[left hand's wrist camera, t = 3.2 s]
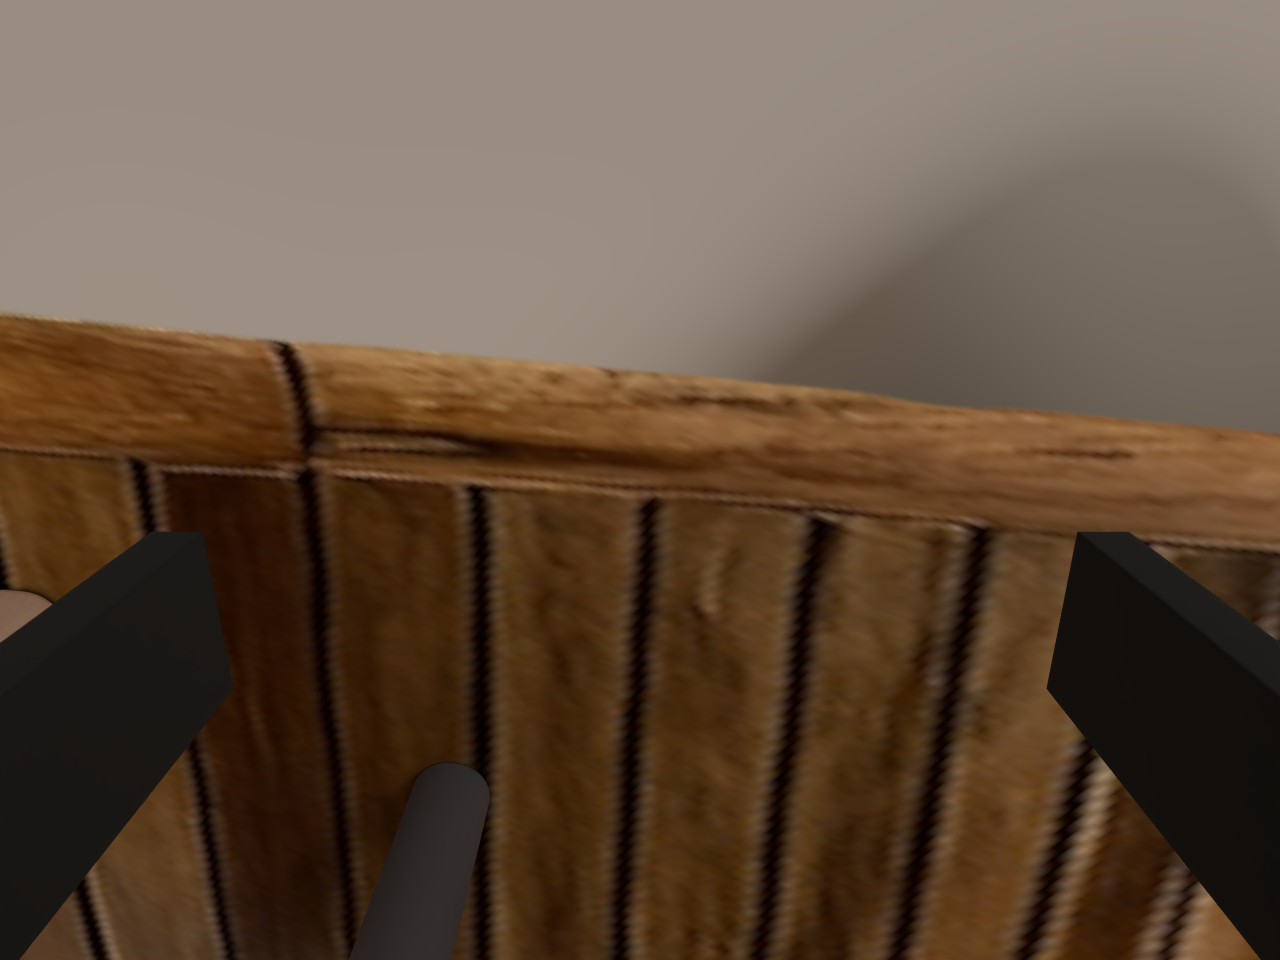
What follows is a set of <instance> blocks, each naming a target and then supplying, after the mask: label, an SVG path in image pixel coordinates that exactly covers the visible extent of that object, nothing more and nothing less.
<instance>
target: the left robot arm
mask: <svg viewBox="0 0 1280 960" xmlns="http://www.w3.org/2000/svg"><path fill="white" fill-rule="evenodd" d="M232 690H233V684H232V679H231V674H230V669H229V664H228V659H227V653H226V648H225V643H224V638H223V633H222V628H221V623H220V618H219V613H218V608H217V603H216V598H215V593H214V588H213V582H212V577H211V572H210V567H209V562H208V557H207V552H206V547H205V542H204V537H203V532H151V533H149V534H148V535H147V536H145V537H144V538H142V539H141V540H140V541H138V542H137V543H136V544H134V545H133V546H132V547H130V548H129V549H127V550H126V551H125V552H123V553H122V554H121V555H119V556H118V557H116V558H115V559H114V560H112V561H111V562H110V563H108V564H107V565H106V566H104V567H103V568H101V569H100V570H99V571H97V572H96V573H95V574H93V575H92V576H91V577H89V578H88V579H86V580H85V581H84V582H82V583H81V584H80V585H78V586H77V587H75V588H74V589H73V590H71V591H70V592H69V593H67V594H66V595H65V596H63V597H62V598H60V599H59V600H58V601H56V602H55V603H54V604H52V605H51V606H50V607H48V608H47V609H45V610H44V611H43V612H41V613H40V614H39V615H37V616H36V617H34V618H33V619H32V620H30V621H29V622H28V623H26V624H25V625H24V626H22V627H21V628H19V629H18V630H17V631H15V632H14V633H13V634H11V635H10V636H9V637H7V638H6V639H4V640H3V641H2V642H0V960H19V959H20V958H21V957H22V955H23V954H24V953H25V952H26V950H27V949H28V948H29V946H30V945H31V944H32V943H33V941H34V940H35V939H36V938H37V936H38V935H39V934H40V933H41V931H42V930H43V929H44V927H45V926H46V925H47V924H48V922H49V921H50V920H51V919H52V917H53V916H54V915H55V914H56V912H57V911H58V910H59V909H60V907H61V906H62V905H63V903H64V902H65V901H66V900H67V898H68V897H69V896H70V895H71V893H72V892H73V891H74V890H75V888H76V887H77V886H78V884H79V883H80V882H81V881H82V879H83V878H84V877H85V876H86V874H87V873H88V872H89V871H90V869H91V868H92V867H93V866H94V864H95V863H96V862H97V860H98V859H99V858H100V857H101V855H102V854H103V853H104V852H105V850H106V849H107V848H108V847H109V845H110V844H111V843H112V842H113V840H114V839H115V838H116V836H117V835H118V834H119V833H120V831H121V830H122V829H123V828H124V826H125V825H126V824H127V823H128V821H129V820H130V819H131V817H132V816H133V815H134V814H135V812H136V811H137V810H138V809H139V807H140V806H141V805H142V804H143V802H144V801H145V800H146V799H147V797H148V796H149V795H150V793H151V792H152V791H153V790H154V788H155V787H156V786H157V785H158V783H159V782H160V781H161V780H162V778H163V777H164V776H165V774H166V773H167V772H168V771H169V769H170V768H171V767H172V766H173V764H174V763H175V762H176V761H177V759H178V758H179V757H180V756H181V754H182V753H183V752H184V750H185V749H186V748H187V747H188V745H189V744H190V743H191V742H192V740H193V739H194V738H195V737H196V735H197V734H198V733H199V731H200V730H201V729H202V728H203V726H204V725H205V724H206V723H207V721H208V720H209V719H210V718H211V716H212V715H213V714H214V713H215V711H216V710H217V709H218V707H219V706H220V705H221V704H222V702H223V701H224V700H225V699H226V697H227V696H228V695H229V694H230V692H231V691H232ZM1047 690H1048V691H1049V692H1050V694H1051V695H1052V696H1053V697H1054V699H1055V700H1056V701H1057V702H1058V704H1059V705H1060V706H1061V707H1062V709H1063V710H1064V711H1065V713H1066V714H1067V715H1068V716H1069V718H1070V719H1071V720H1072V721H1073V723H1074V724H1075V725H1076V726H1077V728H1078V729H1079V730H1080V731H1081V733H1082V734H1083V735H1084V737H1085V738H1086V739H1087V740H1088V742H1089V743H1090V744H1091V745H1092V747H1093V748H1094V749H1095V750H1096V752H1097V753H1098V754H1099V756H1100V757H1101V758H1102V759H1103V761H1104V762H1105V763H1106V764H1107V766H1108V767H1109V768H1110V769H1111V771H1112V772H1113V773H1114V774H1115V776H1116V777H1117V778H1118V780H1119V781H1120V782H1121V783H1122V785H1123V786H1124V787H1125V788H1126V790H1127V791H1128V792H1129V793H1130V795H1131V796H1132V797H1133V799H1134V800H1135V801H1136V802H1137V804H1138V805H1139V806H1140V807H1141V809H1142V810H1143V811H1144V812H1145V814H1146V815H1147V816H1148V817H1149V819H1150V820H1151V821H1152V823H1153V824H1154V825H1155V826H1156V828H1157V829H1158V830H1159V831H1160V833H1161V834H1162V835H1163V836H1164V838H1165V839H1166V840H1167V842H1168V843H1169V844H1170V845H1171V847H1172V848H1173V849H1174V850H1175V852H1176V853H1177V854H1178V855H1179V857H1180V858H1181V859H1182V860H1183V862H1184V863H1185V864H1186V866H1187V867H1188V868H1189V869H1190V871H1191V872H1192V873H1193V874H1194V876H1195V877H1196V878H1197V879H1198V881H1199V882H1200V883H1201V884H1202V886H1203V887H1204V888H1205V890H1206V891H1207V892H1208V893H1209V895H1210V896H1211V897H1212V898H1213V900H1214V901H1215V902H1216V903H1217V905H1218V906H1219V907H1220V909H1221V910H1222V911H1223V912H1224V914H1225V915H1226V916H1227V917H1228V919H1229V920H1230V921H1231V922H1232V924H1233V925H1234V926H1235V927H1236V929H1237V930H1238V931H1239V933H1240V934H1241V935H1242V936H1243V938H1244V939H1245V940H1246V941H1247V943H1248V944H1249V945H1250V946H1251V948H1252V949H1253V950H1254V952H1255V953H1256V954H1257V955H1258V957H1259V958H1260V959H1261V960H1280V642H1278V641H1277V640H1276V639H1274V638H1273V637H1271V636H1270V635H1269V634H1267V633H1266V632H1265V631H1263V630H1262V629H1261V628H1259V627H1258V626H1256V625H1255V624H1254V623H1252V622H1251V621H1250V620H1248V619H1247V618H1246V617H1244V616H1243V615H1241V614H1240V613H1239V612H1237V611H1236V610H1235V609H1233V608H1232V607H1230V606H1229V605H1228V604H1226V603H1225V602H1224V601H1222V600H1221V599H1220V598H1218V597H1217V596H1215V595H1214V594H1213V593H1211V592H1210V591H1209V590H1207V589H1206V588H1205V587H1203V586H1202V585H1200V584H1199V583H1198V582H1196V581H1195V580H1194V579H1192V578H1191V577H1189V576H1188V575H1187V574H1185V573H1184V572H1183V571H1181V570H1180V569H1179V568H1177V567H1176V566H1174V565H1173V564H1172V563H1170V562H1169V561H1168V560H1166V559H1165V558H1164V557H1162V556H1161V555H1159V554H1158V553H1157V552H1155V551H1154V550H1153V549H1151V548H1150V547H1148V546H1147V545H1146V544H1144V543H1143V542H1142V541H1140V540H1139V539H1138V538H1136V537H1135V536H1133V535H1132V534H1131V533H1129V532H1077V537H1076V542H1075V547H1074V552H1073V557H1072V562H1071V567H1070V572H1069V577H1068V582H1067V588H1066V593H1065V598H1064V603H1063V608H1062V613H1061V618H1060V623H1059V628H1058V633H1057V638H1056V643H1055V648H1054V653H1053V659H1052V664H1051V669H1050V674H1049V679H1048V684H1047Z"/></svg>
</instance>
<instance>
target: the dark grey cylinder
mask: <svg viewBox="0 0 1280 960" xmlns="http://www.w3.org/2000/svg"><path fill="white" fill-rule="evenodd" d="M489 800H490V792H489V788H488V785H487V783H486V781H485V780H484V779H483V777H482V776H481V775H480V774H479V773H478V772H476V771H475V770H473V769H472V768H470V767H467V766H465V765H462V764H458V763H440V764H436V765H433V766H431V767H429V768H427V769H425V770H424V771H423V772H422V773H421V774H420V775H419V776H418V777H417V779H416V781H415V783H414V786H413V788H412V791H411V794H410V797H409V799H408V802H407V805H406V807H405V810H404V813H403V815H402V818H401V821H400V824H399V826H398V829H397V832H396V834H395V837H394V840H393V842H392V845H391V848H390V851H389V853H388V856H387V859H386V861H385V864H384V867H383V869H382V872H381V875H380V878H379V880H378V883H377V886H376V888H375V891H374V894H373V896H372V899H371V902H370V904H369V907H368V910H367V913H366V915H365V918H364V921H363V923H362V926H361V929H360V931H359V934H358V937H357V940H356V942H355V945H354V948H353V950H352V953H351V956H350V958H349V960H451V959H452V955H453V951H454V946H455V942H456V938H457V934H458V930H459V926H460V921H461V917H462V913H463V909H464V905H465V901H466V896H467V892H468V888H469V884H470V880H471V876H472V872H473V867H474V863H475V859H476V855H477V851H478V847H479V842H480V838H481V834H482V830H483V826H484V822H485V817H486V813H487V809H488V805H489Z"/></svg>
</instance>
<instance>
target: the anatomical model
mask: <svg viewBox="0 0 1280 960" xmlns="http://www.w3.org/2000/svg"><path fill="white" fill-rule="evenodd" d="M51 605H52V603H50V602H49V601H48V600H46V599H45V598H43V597H41V596H38V595H36V594H33V593H29V592H24V591H14V590H0V642H2V641H3V640H4V639H6V638H7V637H9V636H10V635H11V634H13V633H14V632H15V631H17V630H18V629H19V628H21V627H22V626H24V625H25V624H26V623H28V622H29V621H30V620H32V619H33V618H34V617H36V616H37V615H39V614H40V613H41V612H43V611H44V610H45V609H47V608H48V607H50V606H51Z"/></svg>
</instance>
